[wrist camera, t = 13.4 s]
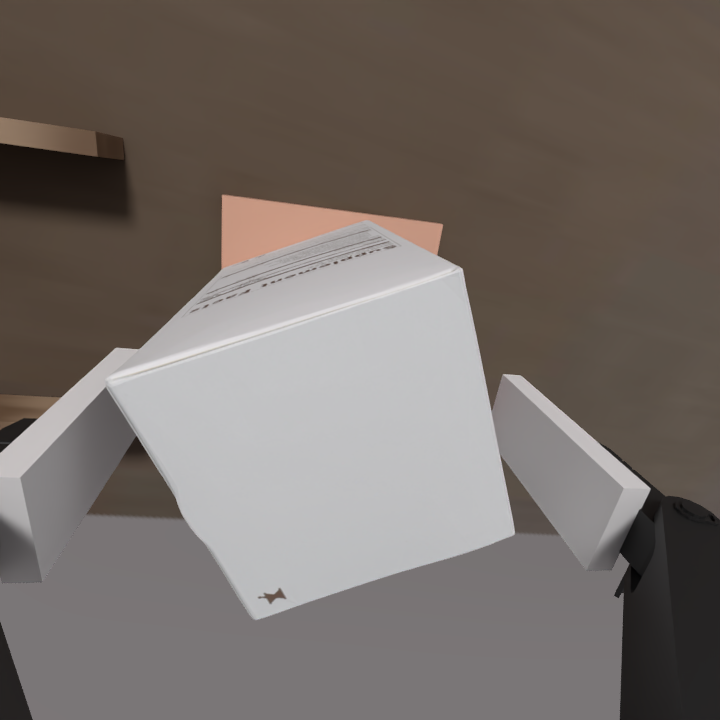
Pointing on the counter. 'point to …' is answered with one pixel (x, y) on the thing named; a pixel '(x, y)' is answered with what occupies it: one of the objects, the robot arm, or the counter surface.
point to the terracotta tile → (301, 226)
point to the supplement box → (323, 417)
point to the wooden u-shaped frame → (63, 139)
